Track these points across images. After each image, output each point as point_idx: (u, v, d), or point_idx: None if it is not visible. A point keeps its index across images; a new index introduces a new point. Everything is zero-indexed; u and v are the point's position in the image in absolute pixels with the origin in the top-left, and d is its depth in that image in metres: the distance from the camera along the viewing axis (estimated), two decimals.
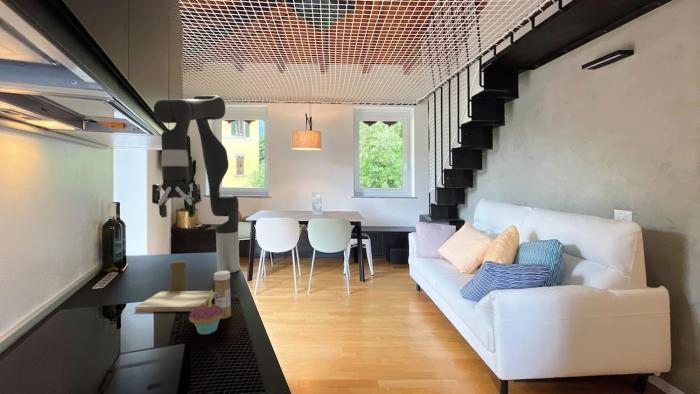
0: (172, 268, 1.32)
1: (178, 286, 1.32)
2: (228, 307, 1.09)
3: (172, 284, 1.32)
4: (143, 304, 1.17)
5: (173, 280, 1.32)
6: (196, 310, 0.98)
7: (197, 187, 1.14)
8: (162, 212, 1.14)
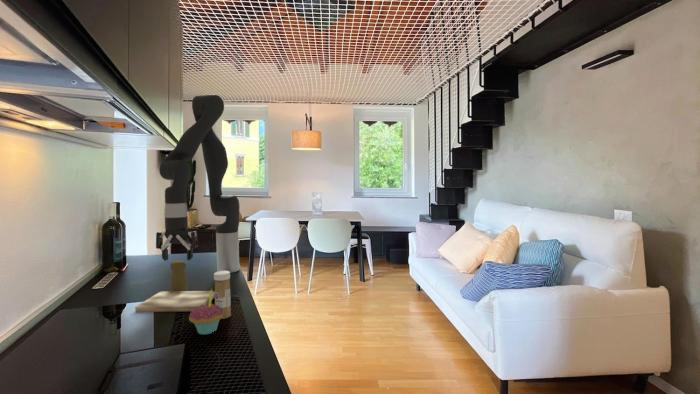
0: (172, 268, 1.32)
1: (178, 286, 1.32)
2: (228, 307, 1.09)
3: (172, 284, 1.32)
4: (143, 304, 1.17)
5: (173, 280, 1.32)
6: (196, 310, 0.98)
7: (195, 235, 1.33)
8: (164, 256, 1.33)
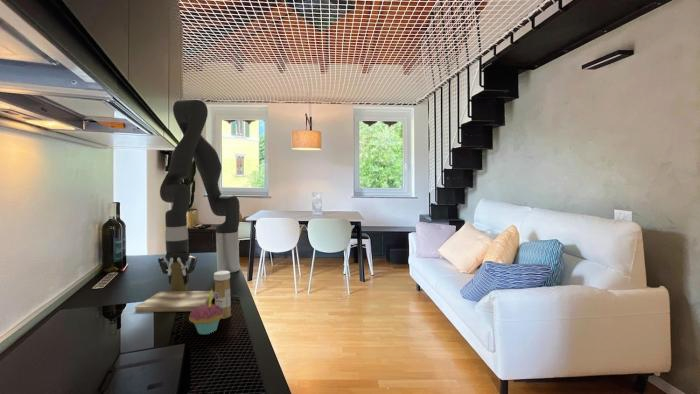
0: (172, 268, 1.32)
1: (178, 286, 1.32)
2: (228, 307, 1.09)
3: (172, 284, 1.32)
4: (143, 304, 1.17)
5: (173, 280, 1.32)
6: (196, 310, 0.98)
7: (194, 261, 1.34)
8: None
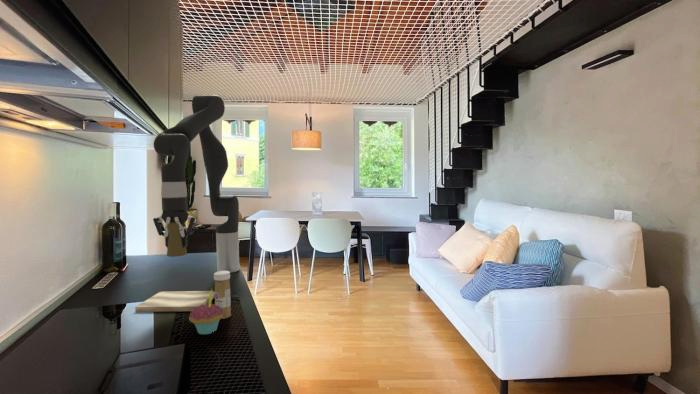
0: (169, 229, 1.18)
1: (176, 249, 1.18)
2: (228, 307, 1.09)
3: (169, 247, 1.18)
4: (143, 304, 1.17)
5: (170, 242, 1.18)
6: (196, 310, 0.98)
7: (194, 221, 1.20)
8: None
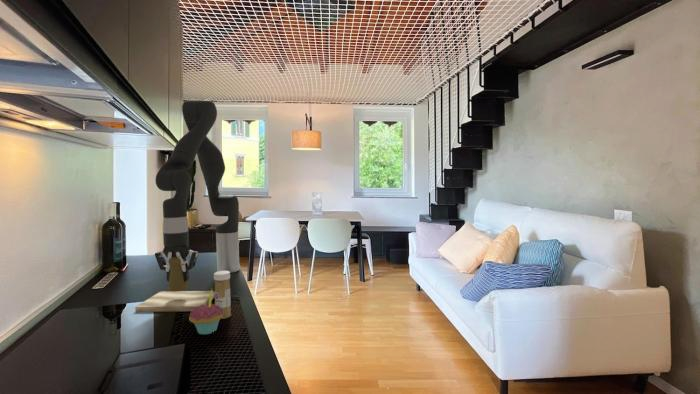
0: (170, 264, 1.19)
1: (177, 284, 1.19)
2: (228, 307, 1.09)
3: (170, 281, 1.19)
4: (143, 304, 1.17)
5: (171, 277, 1.19)
6: (196, 310, 0.98)
7: (195, 256, 1.20)
8: None
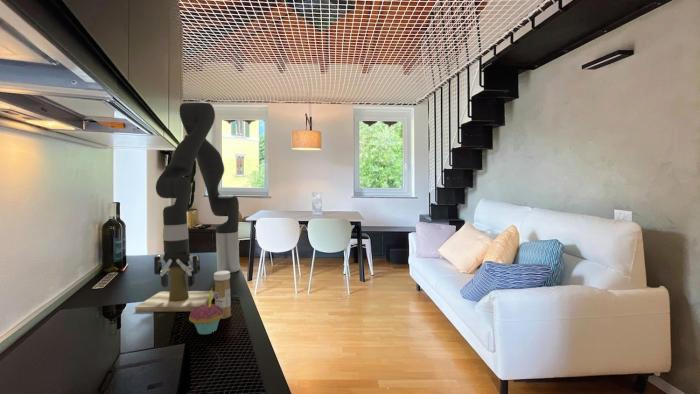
0: (171, 274, 1.19)
1: (178, 294, 1.19)
2: (228, 307, 1.09)
3: (171, 291, 1.19)
4: (143, 304, 1.17)
5: (172, 287, 1.19)
6: (196, 310, 0.98)
7: (197, 259, 1.20)
8: (164, 282, 1.20)
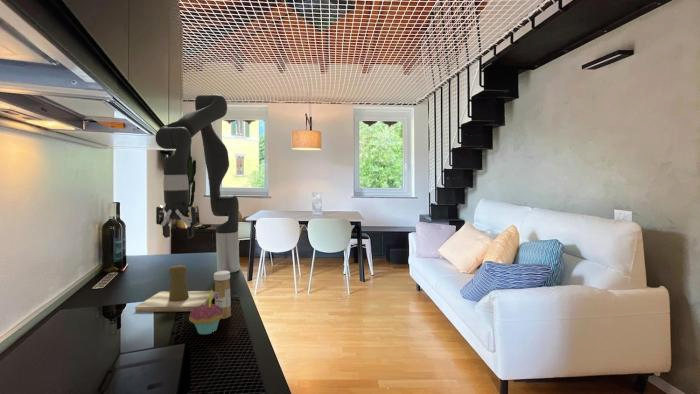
0: (171, 274, 1.19)
1: (178, 294, 1.19)
2: (228, 307, 1.09)
3: (171, 291, 1.19)
4: (143, 304, 1.17)
5: (172, 287, 1.19)
6: (196, 310, 0.98)
7: (195, 210, 1.20)
8: (165, 233, 1.22)
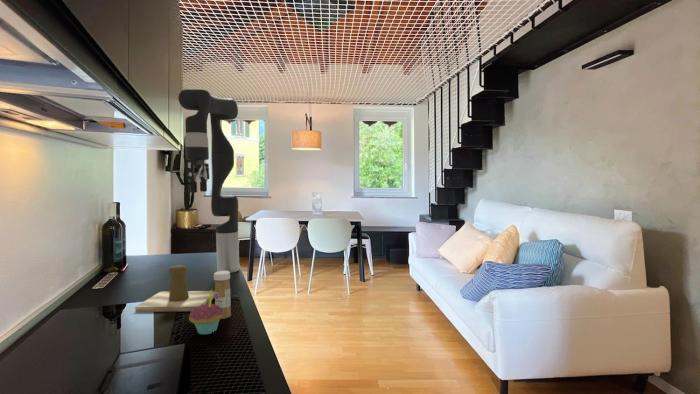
0: (171, 274, 1.19)
1: (178, 294, 1.19)
2: (228, 307, 1.09)
3: (171, 291, 1.19)
4: (143, 304, 1.17)
5: (172, 287, 1.19)
6: (196, 310, 0.98)
7: (187, 165, 1.24)
8: None
